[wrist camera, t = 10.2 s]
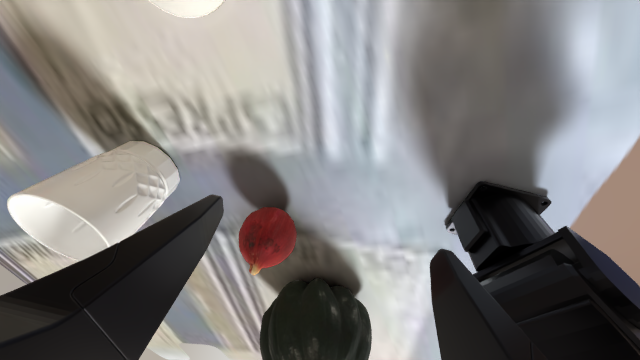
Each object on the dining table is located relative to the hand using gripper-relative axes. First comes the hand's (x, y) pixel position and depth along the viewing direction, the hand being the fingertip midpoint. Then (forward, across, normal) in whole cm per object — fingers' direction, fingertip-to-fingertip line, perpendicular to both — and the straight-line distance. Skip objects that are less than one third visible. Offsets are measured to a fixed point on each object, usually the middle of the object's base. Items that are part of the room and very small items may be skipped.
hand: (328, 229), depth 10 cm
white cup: (+14, +20, +11) cm, 26 cm away
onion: (+13, +5, +13) cm, 19 cm away
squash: (+13, -3, +28) cm, 31 cm away
